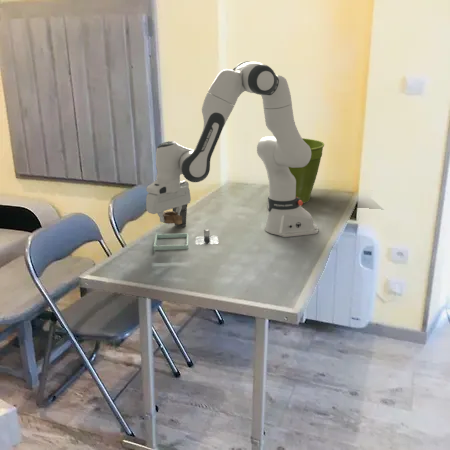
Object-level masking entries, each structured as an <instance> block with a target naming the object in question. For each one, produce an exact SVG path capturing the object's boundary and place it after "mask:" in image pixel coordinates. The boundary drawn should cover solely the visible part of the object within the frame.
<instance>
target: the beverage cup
mask: <svg viewBox="0 0 450 450" xmlns="http://www.w3.org/2000/svg"><path fill="white" fill-rule="evenodd" d="M171 210H172V211H174V212H176V208H172V209H171ZM187 211H188V204H185V205H182V209H181V211H180V216H182V224H179V225H178V224H175V223H173V224H174V227H175V228H178V229H182V228H183V229H184V228H185V227H187V215H188V213H187Z"/></svg>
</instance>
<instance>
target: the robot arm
mask: <svg viewBox="0 0 450 450" xmlns="http://www.w3.org/2000/svg"><path fill="white" fill-rule="evenodd" d="M245 92H247V93H250V94H255V95H259V96H261V99H262V106H263V113H264V121H265V126H266V127H267V129H268V130H269V131H270V132H271V134H272V135H271V136H270V135H269V136H264V137H262V138H260V140H259V141H258V143H257V145H256V153H257V156H258V157H259V158H260V160H261V161H262V163H263V164H264V167H265V169H266V174H267V179H268V178H269V179H268V197H267V218H266V222H265V226H264V231H265V232H267V233H268V234H272V235H277V236H280V237H283V238H287V237H288V238H289V237H297V236H307V235H316V234H318V233H319V227H318V225H317V224H316V223H315V222H314V220H313V216H312V214H311V213H310V212H309V211H307V210H306V209H305V208H303V205H304V203H303V202H302V200H300V199H299V198H298V197H296V179H295V177H294V176H293V175H292V173H291V172H290V170H289V167H292V168H300V167H304V166H306V165H307V164H308V163H309V161H310V159H311V149H310V147H309V145H308V144H307V143H305V141H304V140H303V139H302V136H301V134H300V133H299V130H298V127H297V125H296V122H295V118H294V111H293V103H292V95H291V91H290V87H289V83H288V80H287V79H286V78H285V77H284V76H283V75H279V74H278V75H277V74H276V72H275V70H274V69H272V67H270V66H269V65H267V64H263V63H262V62H257V61H250V60H249V61H248V60H247V61H246V60H245V61H241V62H240V63H238V64H237V65H236V66H235V67H234V68H233V69H228V68H225V69H223V70H221V71H220V72H219V73H218V74H217V75H216V77H215V79H214V80H213V82H212V83H211V85H210V87H209V89H208V91H207V93H206V96H205V97H204V100H203V104H202V107H201V113H202V117H203V129H202V132H201V134H200V137H199V139H198V141H197V143H196V146H195V149H193V148H190V147H186V146H183V145H181V144H179V143H178V142H176V141H173V140H172V141H164V142H162V143H160V144H159V145H158V146H157V147H156V152H155V167H156V172H157V173H156V180H154V181H153V182H152V183H151V184H149V185H148V186H146V192H147V194H146V199H145V202H146V204H145V207H146V211H147V212H148V213H149V214H152V215H155V214H157V216H158V217H159V222H161V223H163V222H165V221H166V217H164V216H163V213H164V212H167V211H170V210H173V209H172V208H176V212H178V215H180V211H181V209H182V205H185V204H190V203H191V200H192V199H191V198H192V197H191V192H190V188H189V186H190V184H189V182H191V183H200V182H202V181H204V180H206V178H207V177H208V176H209V173H210V171H211V158H212V157H213V156H212V155H213V154H214V151H215V148H216V147H217V144H218V141H219V139H220V137H221V134H222V131H223V129H224V127H225V125H226V123H227V121H228V120H229V117H230V115H231V114H232V111H233V109H234V108H235V106H236V103H237V101H238V99H239V97H240V96H241V94H243V93H245ZM181 175H183V177H184V178H185V179H186V180H187V181H186V180H182V181H181ZM188 181H189V182H188Z"/></svg>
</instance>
